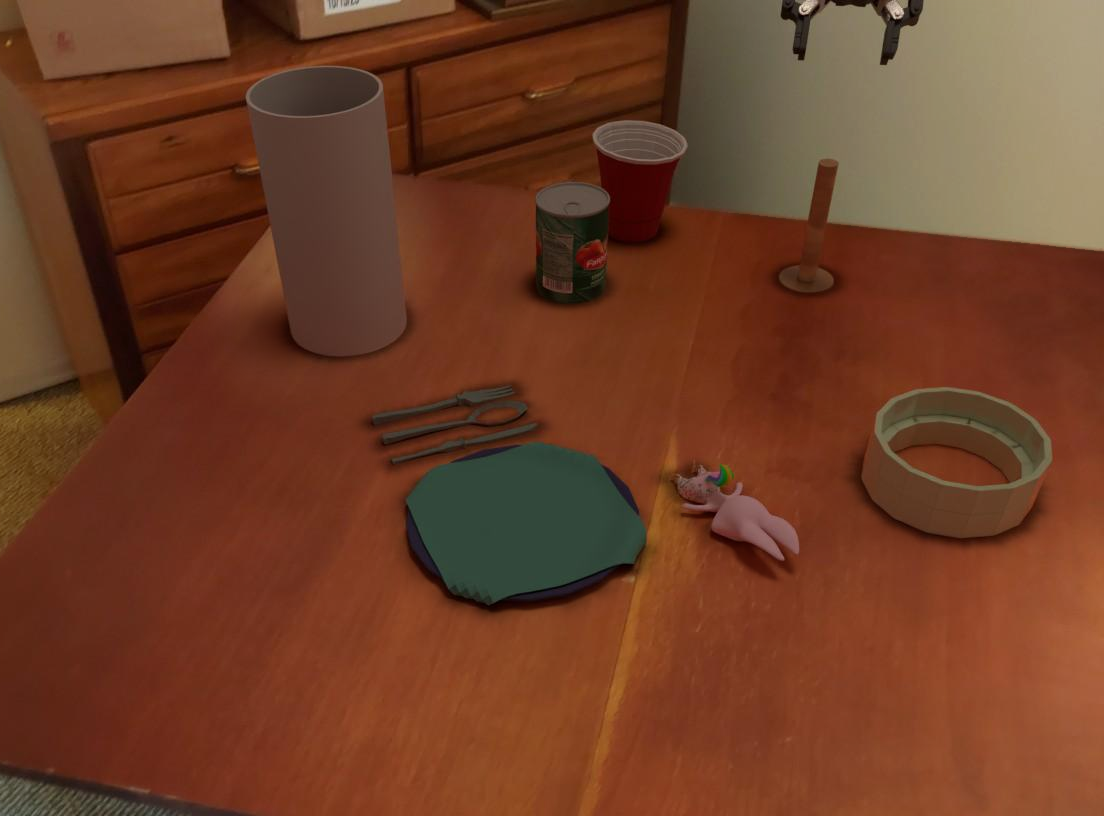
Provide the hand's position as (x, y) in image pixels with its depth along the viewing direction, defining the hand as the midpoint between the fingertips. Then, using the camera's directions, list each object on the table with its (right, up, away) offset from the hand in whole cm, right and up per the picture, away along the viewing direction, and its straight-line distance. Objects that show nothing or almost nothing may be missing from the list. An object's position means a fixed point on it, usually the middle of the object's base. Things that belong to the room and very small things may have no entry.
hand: (842, 59), depth 112 cm
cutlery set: (-36, -48, -17) cm, 62 cm away
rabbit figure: (-16, -51, -21) cm, 58 cm away
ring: (+3, -47, -18) cm, 51 cm away
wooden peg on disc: (-2, -22, +7) cm, 23 cm away
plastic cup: (-20, -13, +16) cm, 29 cm away
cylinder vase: (-53, -28, +3) cm, 60 cm away
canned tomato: (-28, -23, +7) cm, 37 cm away
